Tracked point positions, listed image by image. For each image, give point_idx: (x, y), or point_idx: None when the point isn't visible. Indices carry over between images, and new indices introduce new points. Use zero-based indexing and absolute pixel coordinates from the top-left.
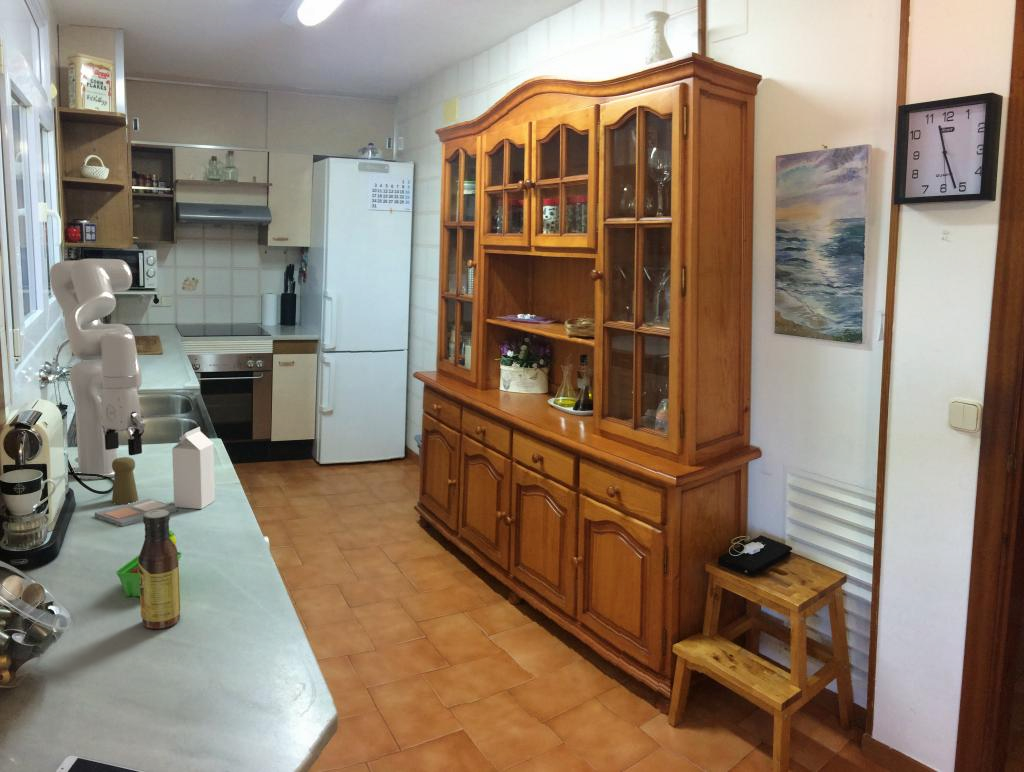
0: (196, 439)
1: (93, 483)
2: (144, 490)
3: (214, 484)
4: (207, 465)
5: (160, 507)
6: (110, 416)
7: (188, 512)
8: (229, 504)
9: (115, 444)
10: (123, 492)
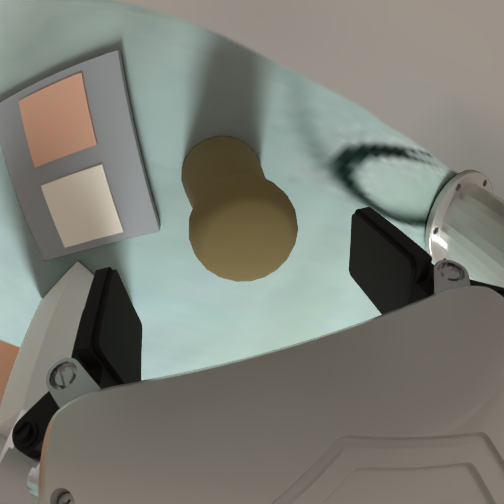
0: None
1: (423, 179)
2: None
3: None
4: None
5: (57, 228)
6: (395, 502)
7: (32, 272)
8: None
9: (361, 270)
10: (191, 171)
